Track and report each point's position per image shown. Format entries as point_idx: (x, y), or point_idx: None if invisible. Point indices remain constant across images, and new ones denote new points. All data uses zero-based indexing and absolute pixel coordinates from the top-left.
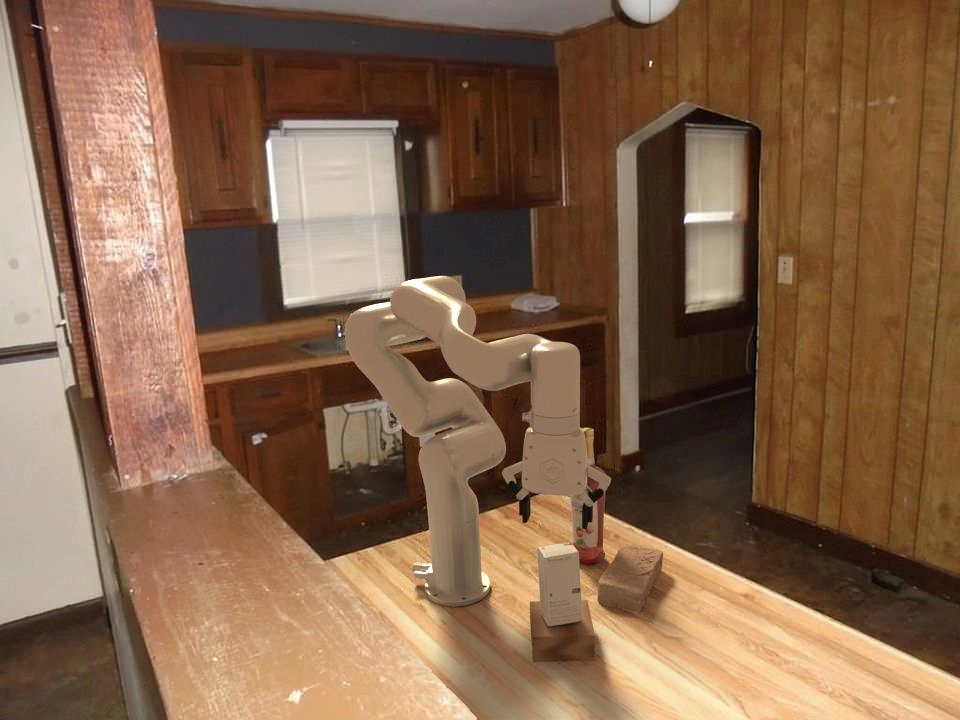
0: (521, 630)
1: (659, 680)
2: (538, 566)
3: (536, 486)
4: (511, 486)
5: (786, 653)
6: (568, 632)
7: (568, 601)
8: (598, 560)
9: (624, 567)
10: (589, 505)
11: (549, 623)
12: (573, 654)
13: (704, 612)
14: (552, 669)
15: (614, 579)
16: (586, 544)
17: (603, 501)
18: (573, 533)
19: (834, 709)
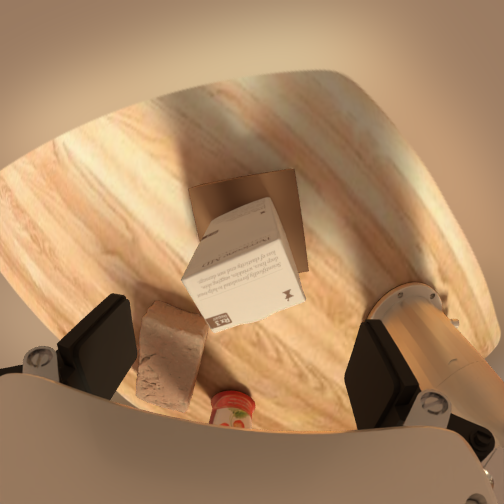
0: (315, 242)
1: (120, 162)
2: (297, 272)
3: (380, 479)
4: (480, 436)
5: (26, 240)
6: (232, 190)
7: (228, 221)
8: (217, 394)
9: (173, 371)
10: (49, 353)
11: (266, 197)
12: (228, 179)
13: (88, 304)
14: (259, 156)
15: (180, 345)
16: (230, 411)
17: None
18: (249, 426)
19: (6, 169)
